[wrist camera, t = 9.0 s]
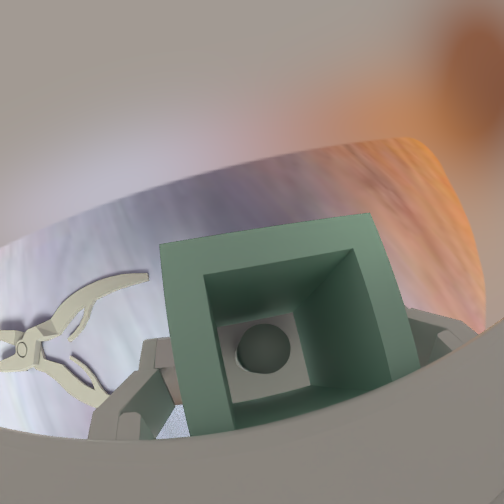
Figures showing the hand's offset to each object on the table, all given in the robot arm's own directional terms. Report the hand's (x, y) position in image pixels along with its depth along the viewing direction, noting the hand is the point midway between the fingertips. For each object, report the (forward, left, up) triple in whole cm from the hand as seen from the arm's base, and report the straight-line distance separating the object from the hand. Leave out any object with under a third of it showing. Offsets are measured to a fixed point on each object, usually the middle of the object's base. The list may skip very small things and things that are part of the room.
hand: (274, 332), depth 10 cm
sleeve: (0, -1, -4) cm, 4 cm away
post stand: (0, 0, -9) cm, 9 cm away
